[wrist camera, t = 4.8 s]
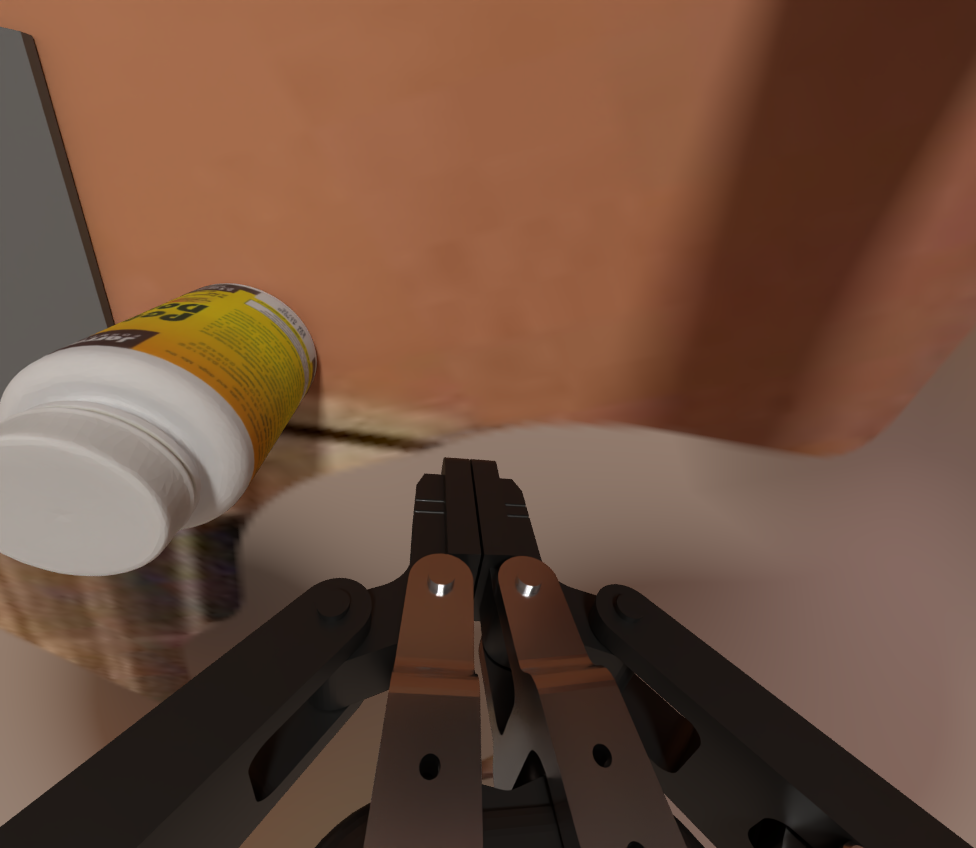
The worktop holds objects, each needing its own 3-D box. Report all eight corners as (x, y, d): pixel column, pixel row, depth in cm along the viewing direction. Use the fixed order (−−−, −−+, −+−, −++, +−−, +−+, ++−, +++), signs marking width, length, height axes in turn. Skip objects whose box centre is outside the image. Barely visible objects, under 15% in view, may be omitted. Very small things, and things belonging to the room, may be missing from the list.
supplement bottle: (255, 252, 15) (19, 342, 7) (346, 369, 18) (264, 542, 9) (144, 322, 16) (-195, 483, 8) (247, 424, 19) (87, 629, 10)
